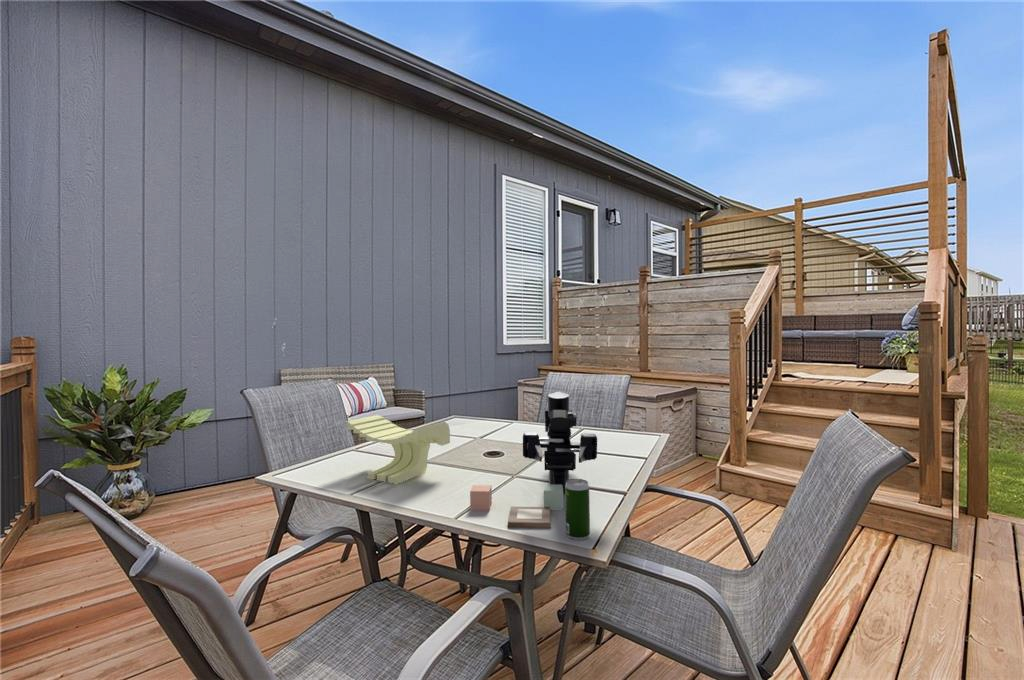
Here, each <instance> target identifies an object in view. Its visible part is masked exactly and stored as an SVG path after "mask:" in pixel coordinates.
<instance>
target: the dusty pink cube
mask: <svg viewBox="0 0 1024 680" xmlns="http://www.w3.org/2000/svg"><path fill="white" fill-rule="evenodd" d="M492 493H493V491H492V485H491V484H490V485H489V484H473V485H472V487H471V488H470V490H469V504H470V505H469V506H470V507H469V508H470V509H469V510H470V511H490V510H491V508H490V507H492V504H493V502H492V501H493V497H492V495H493V494H492Z"/></svg>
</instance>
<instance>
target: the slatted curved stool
mask: <svg viewBox="0 0 1024 680" xmlns="http://www.w3.org/2000/svg"><path fill="white" fill-rule="evenodd" d="M347 430H348V431H349V430H351V431H353V432H352V433H353V434H359V437H360V438H365V441H367V442H375V443H380V444H381V443H382V444H390V445H391V447H392V448H393V452H394V457H393V459H392V460H391V462H389V463H388V464H386V465H385V466H383V467H381V468H379V469H375V470H373V471H370V472H368V474H367V476H366V479H367V478H369V479H368V480H372V479H376V481H377V480H379V481H378V482H382V481H384V483H388V482H389V483H388V484H392V483H394V485H398V483H399V484H402V483H404V482H406V481H408V480H407V479H409V480H411V479H413V477H414V478H416V477H415V476H417V477H419V476H421V475H420V474H422V473H424V474H425V473H426V472H427V468H428V456H429V451H430V447H431V444H436V445H438V446H441V447H442V446H445V445H448V444H450V443H451V430H450V425H449V424H448V423H447V422H446V421H441V422H438V423H434V424H430V425H426V426H422V427H418V428H416V429H413V430H412V429H407V428H403V427H401V426H398V425H397V424H395V423H393V422H392V420H391V421H390V420H388V419H387V418H385V417H384V416H381V415H377V414H375V415H371V416H365V417H359V418H355V419H351V420H347ZM418 475H419V476H418ZM422 475H423V474H422ZM410 478H411V479H410ZM405 480H406V481H405ZM386 481H387V482H386ZM403 481H404V482H403Z"/></svg>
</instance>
